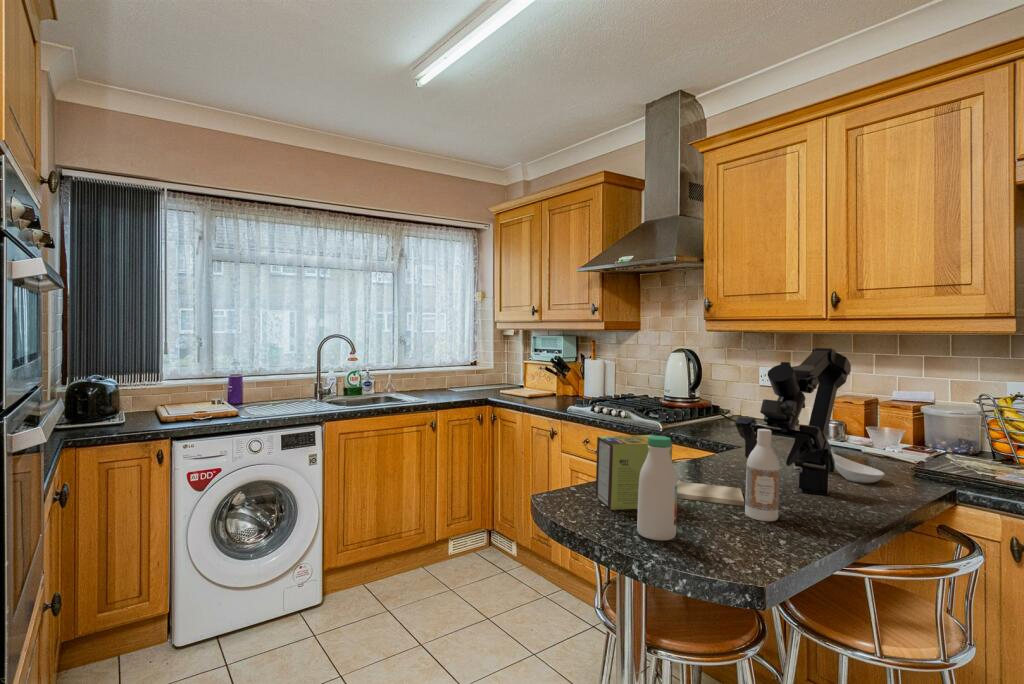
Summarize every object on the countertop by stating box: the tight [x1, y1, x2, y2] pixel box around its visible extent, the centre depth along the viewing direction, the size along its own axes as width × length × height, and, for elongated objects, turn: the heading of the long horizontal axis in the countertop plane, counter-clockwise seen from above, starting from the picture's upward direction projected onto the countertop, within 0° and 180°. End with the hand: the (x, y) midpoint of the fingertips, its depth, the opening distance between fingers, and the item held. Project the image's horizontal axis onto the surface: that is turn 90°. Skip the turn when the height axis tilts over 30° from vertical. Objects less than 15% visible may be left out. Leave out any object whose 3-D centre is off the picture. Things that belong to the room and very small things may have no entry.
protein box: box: [595, 434, 673, 511], centre depth 132 cm, size 10×15×16 cm
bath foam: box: [744, 429, 781, 522], centre depth 124 cm, size 7×7×20 cm
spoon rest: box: [793, 452, 886, 484], centre depth 164 cm, size 24×12×7 cm, turn 42°
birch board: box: [677, 480, 745, 507], centre depth 140 cm, size 16×12×1 cm
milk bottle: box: [636, 435, 678, 542], centre depth 111 cm, size 8×8×20 cm
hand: (766, 460), depth 125 cm, fingers open, 9 cm apart
